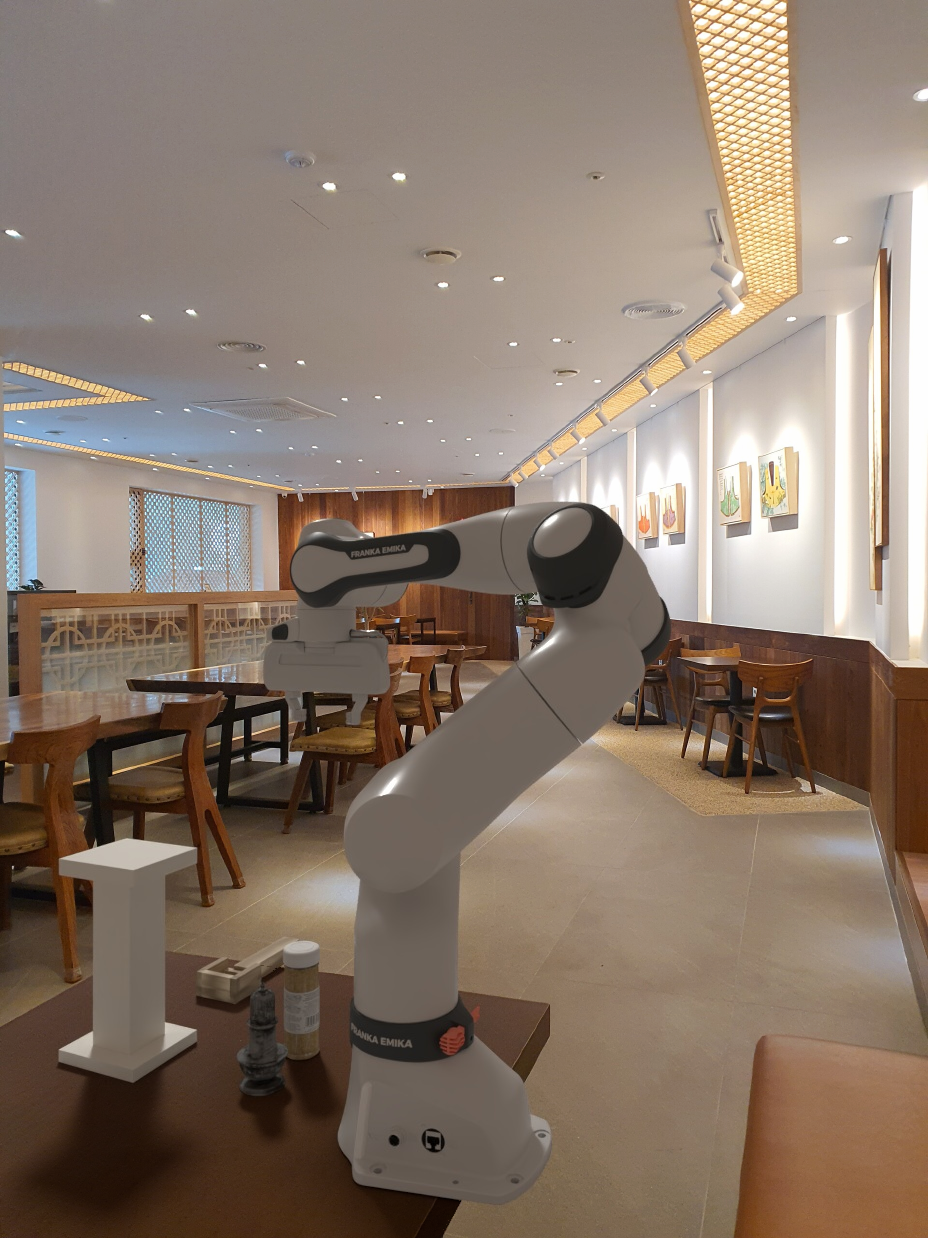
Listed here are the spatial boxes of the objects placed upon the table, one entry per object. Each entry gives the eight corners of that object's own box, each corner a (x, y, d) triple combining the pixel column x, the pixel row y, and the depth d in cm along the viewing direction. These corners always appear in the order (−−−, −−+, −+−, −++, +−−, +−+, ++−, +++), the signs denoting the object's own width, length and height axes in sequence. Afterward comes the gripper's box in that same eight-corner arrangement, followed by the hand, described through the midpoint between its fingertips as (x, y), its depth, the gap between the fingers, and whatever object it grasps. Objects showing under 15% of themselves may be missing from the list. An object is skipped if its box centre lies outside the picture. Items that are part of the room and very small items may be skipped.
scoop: (310, 956, 141) (310, 935, 141) (235, 1004, 124) (235, 979, 124) (273, 950, 144) (273, 928, 144) (196, 995, 127) (196, 971, 127)
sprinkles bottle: (308, 1040, 113) (308, 936, 113) (326, 1054, 110) (326, 947, 110) (276, 1051, 110) (276, 945, 110) (293, 1066, 107) (294, 956, 107)
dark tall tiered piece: (275, 1100, 99) (275, 994, 99) (227, 1094, 100) (227, 990, 100) (295, 1074, 105) (296, 974, 105) (250, 1068, 106) (250, 969, 106)
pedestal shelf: (196, 1041, 113) (197, 847, 113) (133, 1083, 103) (133, 870, 103) (126, 1024, 118) (126, 838, 118) (58, 1062, 108) (58, 858, 108)
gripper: (398, 629, 128) (397, 724, 128) (282, 628, 137) (281, 717, 137) (376, 630, 123) (376, 729, 123) (257, 629, 131) (256, 721, 131)
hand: (325, 723), depth 130 cm, fingers open, 8 cm apart
